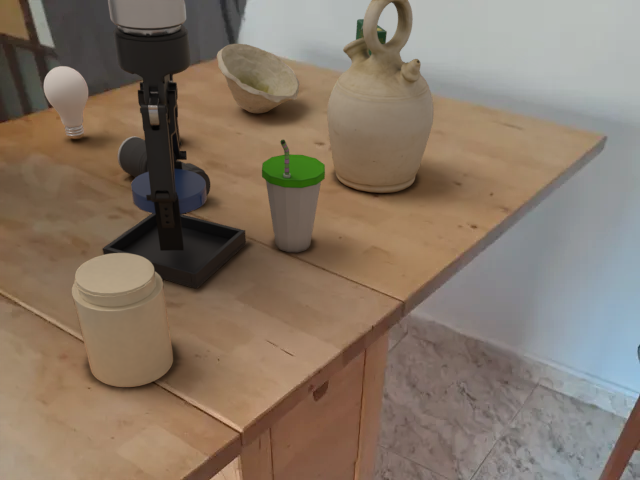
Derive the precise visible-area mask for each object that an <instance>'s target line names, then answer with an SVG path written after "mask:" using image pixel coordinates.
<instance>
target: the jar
mask: <svg viewBox="0 0 640 480" xmlns="http://www.w3.org/2000/svg"><path fill="white" fill-rule="evenodd" d="M73 281H74V283H73V284H72V287H71V296H72V300H73V305H74V308H75V309H74V310H75V311H76V312H75V313H76V316H77V321H78V324H79V329H80V332H81V336H82V340H83V344H84V345H83V346H84V349H85V353H86V356H87V361H88V365H89V369H90V372H91V374H92V375H93V376H94V378H95V379H97V380H98V381H99V382H101V383H103V384H105V385H108V386H112V387H116V388H133V387H135V388H136V387H141V386H144V385H147V384H150V383H153V382H155V381H158V380H159V379H161V378H162V377H163V376H165V374H167V373H168V372H169V370H170V369H171V367H172V365H173V363H174V351H173V346H172V338H171V332H170V331H171V330H170V325H169V324H170V323H169V318H168V317H169V316H168V310H167V303H166V295H165V289H164V282H163V279H161V277H160V275H159V274H158V273H157V272H155V270H154V266H153V264H152V263H151V262H150V261H149V260H148V259H146V258H144V257H142V256H139V255H135V254H130V253H112V254H105V255H104V254H102V255H101V254H100V255H98V256H94V257H91V258H90V259H88V260H86V261H84V262H83V263H81V264H80V266H79V267H78V268H77V269H76V271H75V274H74V280H73Z"/></svg>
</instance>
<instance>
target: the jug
mask: <svg viewBox="0 0 640 480" xmlns="http://www.w3.org/2000/svg"><path fill="white" fill-rule="evenodd" d="M391 3H392V4H393V5H394V7H395V9H396V13H397V25H396V29H395V32H394V34H393V35H392V37H391V39H389V40H388V41H386V43H385V44H381V43H380V41H379V39H378V35H377V25H378V23H379V20H380V18H381V15H382V13H383V11H384V9H385V8H386V7H387V6H388V5H390V4H391ZM363 19H364V21H363V35H364V38H360V39H357V40H356V39H355V40H352V41H350V42H349V43H347V44H345V46H343V49H342V51H343V53H344V54H345V55H347V57H348V58H349V59H350V61H351V65H350V66H349V68H348V69H347V70H345V71H344V72H342V73H341V74H340V75H339V77H338V78H337V80H336V82H335V84H334V86H333V88H332V90H331V93H330V94H329V98H328V102H327V109H326V111H327V112H326V117H327V118H326V120H327V130H328V139H329V146H330V151H331V156H332V157H331V158H332V163H333V167H334V170H335V175H336V179H338V181H339V182H341V183H342V184H343V185H344V186H347V187H349V188H351V189H354V190H357V191H361V192H367V193H375V194H376V193H377V194H384V193H385V194H386V193H397V192H401V191H404V190H406V189H407V188H409V187H411V186H412V185H413V183H414V182H415V180H416V176H417V173H418V171H419V169H420V166H421V164H422V161H423V158H424V154H425V150H426V148H427V144H428V142H429V139H430V134H431V133H432V132H431V131H432V129H433V124H434V101H433V96H432V92H431V89H430V86H429V83H428V82H427V79H425V77H424V76H423V75H422V73H421V60H420V59H418V58H413V59H412V60H411V61H407V62H405V61H403V59H402V56H401V51H402V50H403V49H404V47H405V46H406V45H407V43H408V41H409V40H410V36H411V33H412V29H413V22H414V21H413V19H414V18H413V10H412V5H411V4H410V2H409V0H370V2H369V4H368V6H367V9H366V10H365V12H364V15H363ZM368 48H369V49H370V51H371V52H372V54H371V56H370V55H369V53H368Z"/></svg>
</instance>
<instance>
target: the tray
mask: <svg viewBox="0 0 640 480" xmlns="http://www.w3.org/2000/svg"><path fill="white" fill-rule="evenodd" d="M180 217H181V226H182V235H183V244H184V250H169V251H161V250H160V243H159V236H158V228H157V221H156V214H154V213H150V214H149V215H147V216H146V217H145V218H143V219H142V220H140V221H139V222H137V223H136V224H135V225H133V226H132V227H130V228H129V229H128V230H126V231H125V232H123V233H122V234H120V235H119V236H118V237H116V238H115V239H113V240H112V241H111V242H109V243H107V244H106V245H105V246H104V247H102V252H103V255H105V254H112V253H130V254H135V255H139V256H142V257H144V258H146V259H148V260H149V261H150V262H151V263H152V264H153V266H154V270H155V272H157V273H158V274H159V275H160V277H161V279H162V280H164V281H168V282H171V283H175V284H179V285H182V286H185V287H190V288H193V289H196V290H197V289H198V288H199V287H201V286H202V285H203V284H204V283H205V282H206V281H207V280H208V279H209V278H211V277H212V276H213V275H214V274H215V273H216V272H217V271H218V270H219V269H221V268H222V267H223V266H224V265H225V264H226V263H227V262H228V261H229V260H231V259H232V257H234V256H235V255H236V254H237V253H238V252H239V251H240V250H241V249H243V248H244V247H245V246H246V245H247V238H246V236H247V235H246V230H245V229H241V228H237V227H233V226H231V225H225V224H221V223H217V222H214V221H210V220H207V219H202V218H198V217H194V216H191V215H187V214H180Z"/></svg>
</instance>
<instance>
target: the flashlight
mask: <svg viewBox="0 0 640 480" xmlns="http://www.w3.org/2000/svg"><path fill="white" fill-rule="evenodd" d="M177 162H182V169H183V170H188V171H191V172H194V173H197V174H199V175H200V176H202V177H203V178H204V180H205V182H206V194H207V197H208V196H209V193H210V191H211V179H210V177H209V175H208V174H207V172H206V171H205V170H204V169H203V168H201V167H199V166H197V165H195V164H193V163H190V162H186V163H185V162H184V161H182V160H177ZM117 163H118V165H119V167H120V169H121V170H122V171H123V172H125V173H127V174H128V175H130V176H132V177H134V178H136V177H137V176H139V175H141V174H143V173H146V172H148V163H147V154H146V144H145V139H143V138H141V137H140V136H135V135H134V136H130V137H127V138H126V139H124V140H123V141H122V142H121V144H120V145H119V148H118V151H117Z"/></svg>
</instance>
